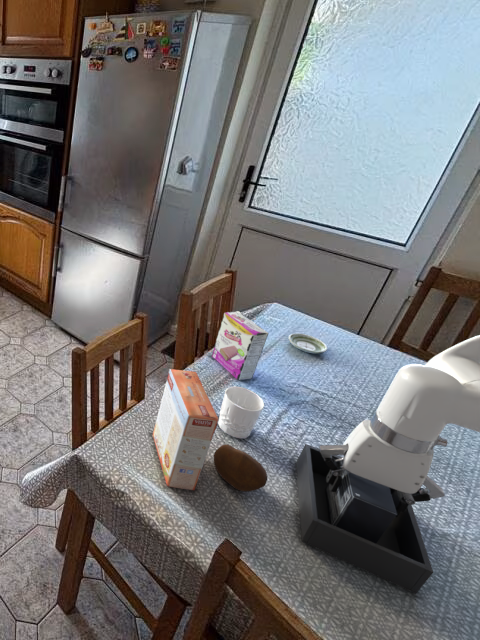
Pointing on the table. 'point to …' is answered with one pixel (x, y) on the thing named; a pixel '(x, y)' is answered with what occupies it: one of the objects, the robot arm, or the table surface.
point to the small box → (361, 507)
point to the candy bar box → (239, 345)
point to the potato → (239, 469)
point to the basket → (379, 559)
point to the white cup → (239, 411)
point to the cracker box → (184, 429)
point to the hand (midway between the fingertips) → (361, 497)
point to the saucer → (307, 343)
